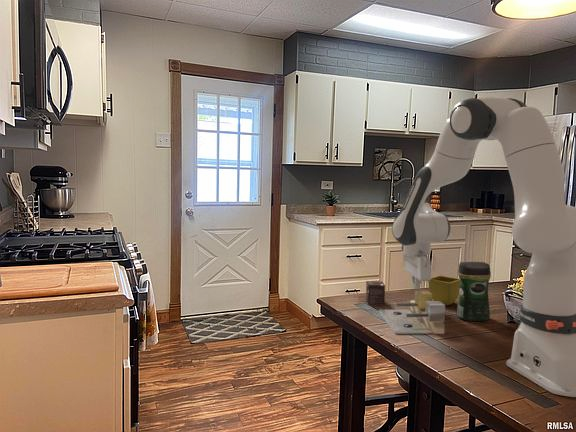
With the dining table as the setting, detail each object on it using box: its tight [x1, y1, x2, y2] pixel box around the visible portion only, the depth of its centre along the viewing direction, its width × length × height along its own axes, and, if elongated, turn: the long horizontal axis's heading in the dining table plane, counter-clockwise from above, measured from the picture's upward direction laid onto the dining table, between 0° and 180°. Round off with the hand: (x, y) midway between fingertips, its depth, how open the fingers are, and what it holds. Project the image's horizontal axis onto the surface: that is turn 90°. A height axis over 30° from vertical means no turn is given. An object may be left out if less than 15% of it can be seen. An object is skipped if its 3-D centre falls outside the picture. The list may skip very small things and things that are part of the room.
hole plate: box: [379, 309, 430, 335], centre depth 136 cm, size 20×10×1 cm, turn 1°
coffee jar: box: [456, 261, 492, 322], centre depth 140 cm, size 10×8×19 cm
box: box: [365, 280, 386, 306], centre depth 158 cm, size 6×6×7 cm
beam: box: [406, 299, 446, 335], centre depth 138 cm, size 24×11×8 cm, turn 1°
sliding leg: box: [396, 290, 433, 309], centre depth 141 cm, size 4×11×5 cm, turn 91°
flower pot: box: [427, 275, 460, 306], centre depth 157 cm, size 9×9×9 cm
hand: (416, 288), depth 149 cm, fingers closed
